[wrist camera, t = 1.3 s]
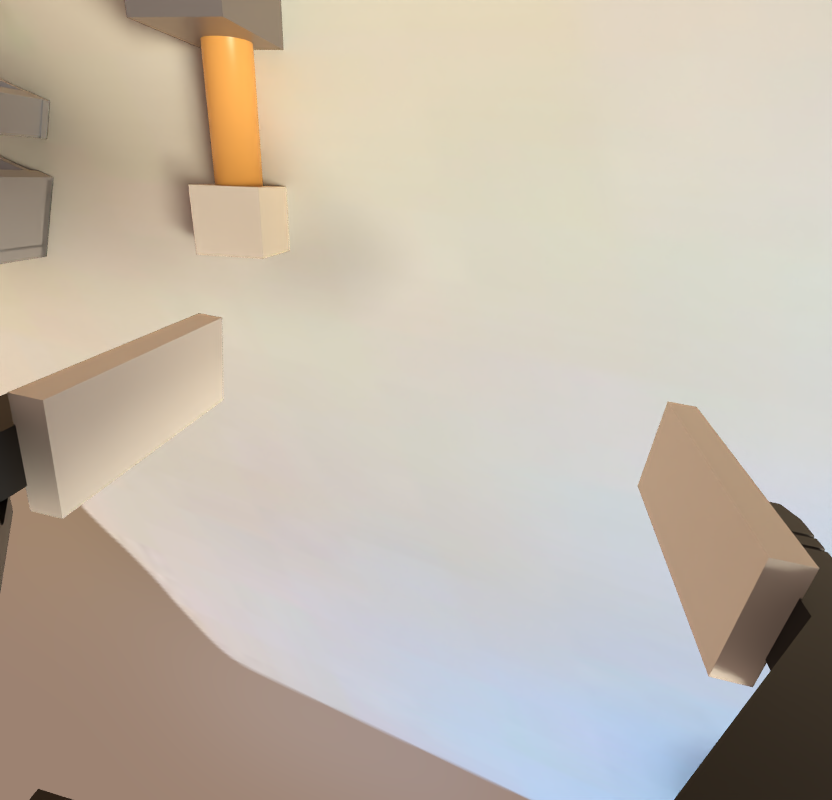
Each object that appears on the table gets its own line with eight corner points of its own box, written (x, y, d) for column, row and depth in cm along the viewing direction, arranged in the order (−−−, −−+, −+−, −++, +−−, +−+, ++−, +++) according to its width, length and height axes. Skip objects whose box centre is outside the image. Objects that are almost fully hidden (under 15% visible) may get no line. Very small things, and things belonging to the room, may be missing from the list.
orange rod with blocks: (172, -277, 27) (63, -419, 20) (266, -286, 26) (183, -437, 20) (224, 246, 37) (162, 260, 30) (293, 250, 36) (244, 266, 29)
